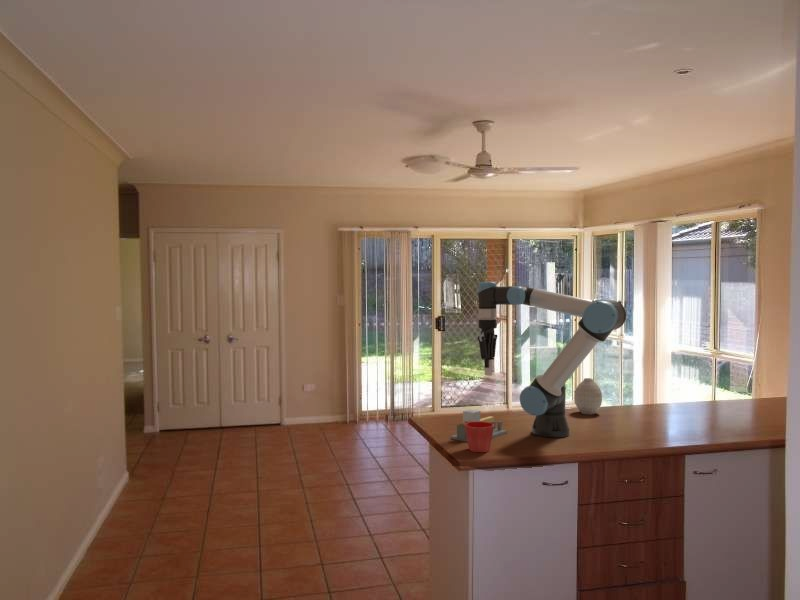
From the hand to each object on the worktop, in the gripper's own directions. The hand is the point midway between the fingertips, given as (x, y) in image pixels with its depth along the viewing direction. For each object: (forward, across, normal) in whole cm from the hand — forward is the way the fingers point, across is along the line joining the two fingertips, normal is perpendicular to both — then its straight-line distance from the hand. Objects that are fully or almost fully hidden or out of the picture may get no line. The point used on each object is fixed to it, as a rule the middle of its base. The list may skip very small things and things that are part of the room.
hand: (488, 375), depth 265 cm
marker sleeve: (+22, +11, -2) cm, 24 cm away
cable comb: (+24, +7, 0) cm, 25 cm away
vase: (+25, -63, +19) cm, 71 cm away
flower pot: (+25, +26, +10) cm, 37 cm away
